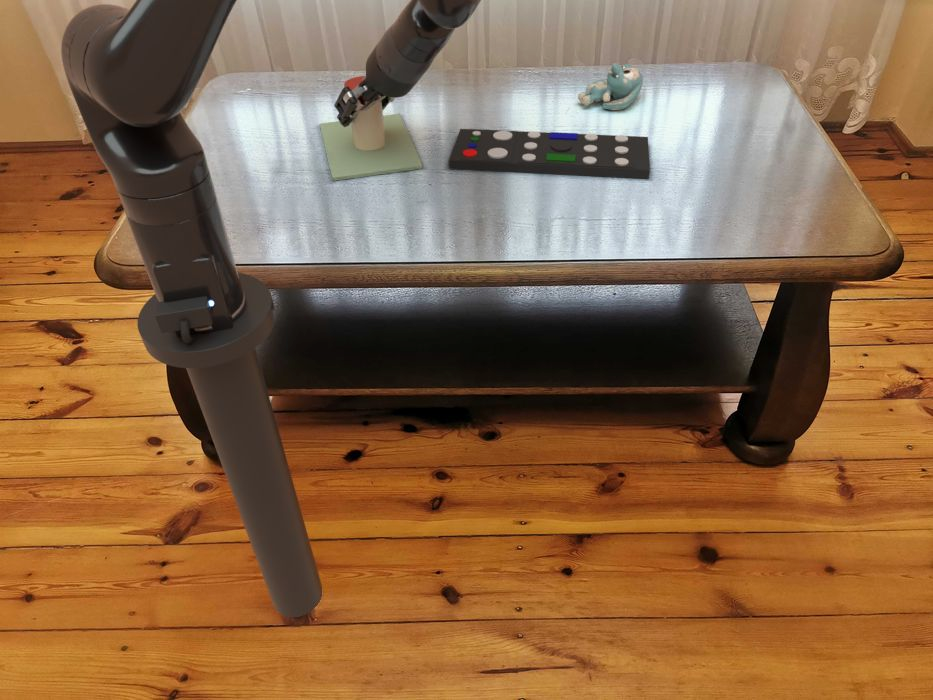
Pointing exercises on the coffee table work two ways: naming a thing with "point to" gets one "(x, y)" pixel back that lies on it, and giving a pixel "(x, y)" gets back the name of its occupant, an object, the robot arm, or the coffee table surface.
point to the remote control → (551, 153)
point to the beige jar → (369, 128)
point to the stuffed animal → (615, 88)
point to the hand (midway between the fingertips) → (359, 114)
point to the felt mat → (368, 163)
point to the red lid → (354, 83)
